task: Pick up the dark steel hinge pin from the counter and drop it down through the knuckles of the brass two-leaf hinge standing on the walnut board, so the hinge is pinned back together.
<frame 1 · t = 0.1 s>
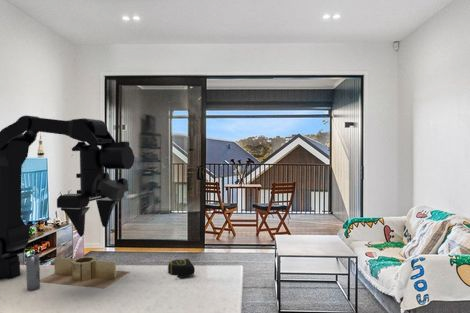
hand: (93, 230, 90), 15 cm above the kitchen counter, fingers open, 9 cm apart
brass hinge: (84, 276, 96), resting on walnut board
hinge pin: (33, 292, 88), on the kitchen counter
tape measure: (183, 275, 100), on the kitchen counter
walnut board: (84, 280, 96), on the kitchen counter
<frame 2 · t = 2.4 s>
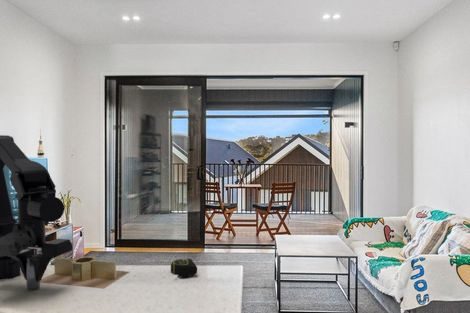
hand: (33, 280, 88), 3 cm above the kitchen counter, fingers closed on hinge pin, 3 cm apart
hinge pin: (33, 292, 88), on the kitchen counter, touching gripper
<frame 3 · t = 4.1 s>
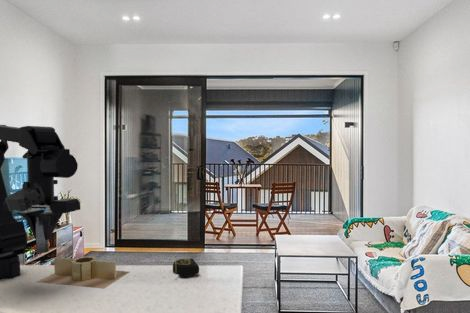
hand: (42, 239, 89), 13 cm above the kitchen counter, fingers closed on hinge pin, 3 cm apart
hinge pin: (42, 251, 89), point 10 cm above the kitchen counter, touching gripper
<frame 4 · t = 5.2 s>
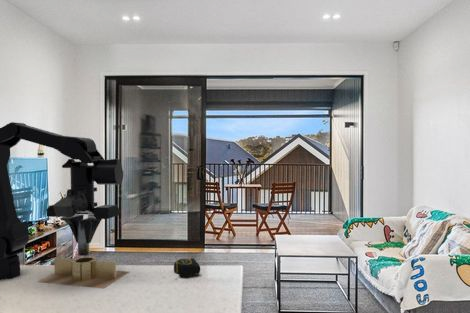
hand: (83, 242, 96), 10 cm above the kitchen counter, fingers closed on hinge pin, 3 cm apart
hinge pin: (83, 254, 96), point 7 cm above the kitchen counter, touching gripper
when the fingers open (7 cm above the kitchen counter, at t = 6.0 s): hinge pin drops 3 cm, resting on walnut board.
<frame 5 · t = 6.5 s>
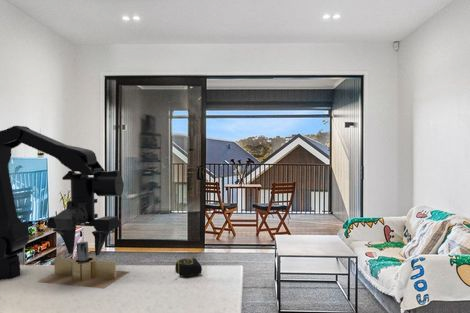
hand: (84, 254, 96), 7 cm above the kitchen counter, fingers open, 8 cm apart
hinge pin: (84, 276, 96), point 1 cm above the kitchen counter, touching walnut board
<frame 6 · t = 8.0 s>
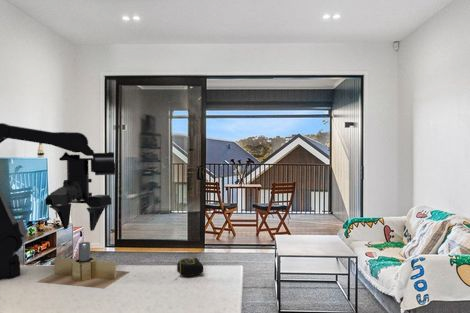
hand: (78, 229, 104), 12 cm above the kitchen counter, fingers open, 9 cm apart
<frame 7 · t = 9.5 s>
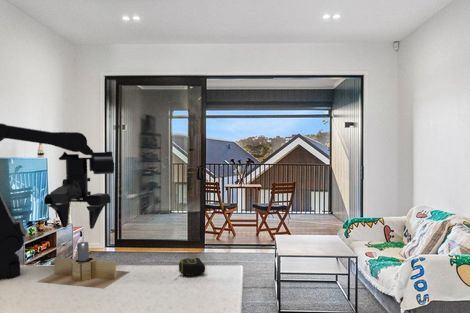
hand: (78, 228, 105), 12 cm above the kitchen counter, fingers open, 9 cm apart
at the end: hinge pin 0.1 cm from the brass hinge (horizontally); hinge pin point 1.0 cm above the kitchen counter; hinge pin tilted 2° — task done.
